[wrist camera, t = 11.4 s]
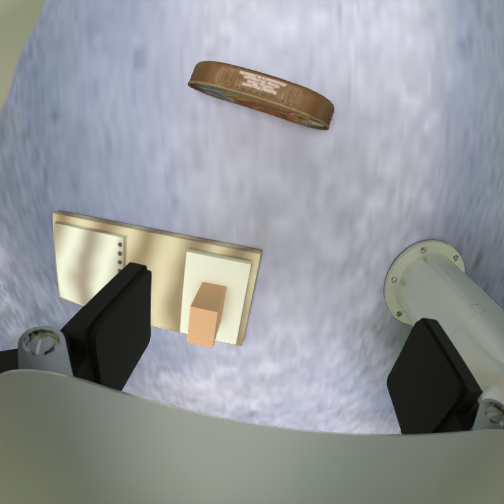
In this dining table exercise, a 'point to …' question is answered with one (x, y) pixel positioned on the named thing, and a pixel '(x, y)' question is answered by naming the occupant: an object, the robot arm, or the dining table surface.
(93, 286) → the ticket pad
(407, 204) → the dining table surface
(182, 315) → the stub
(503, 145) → the dining table surface
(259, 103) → the tin
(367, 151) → the dining table surface
